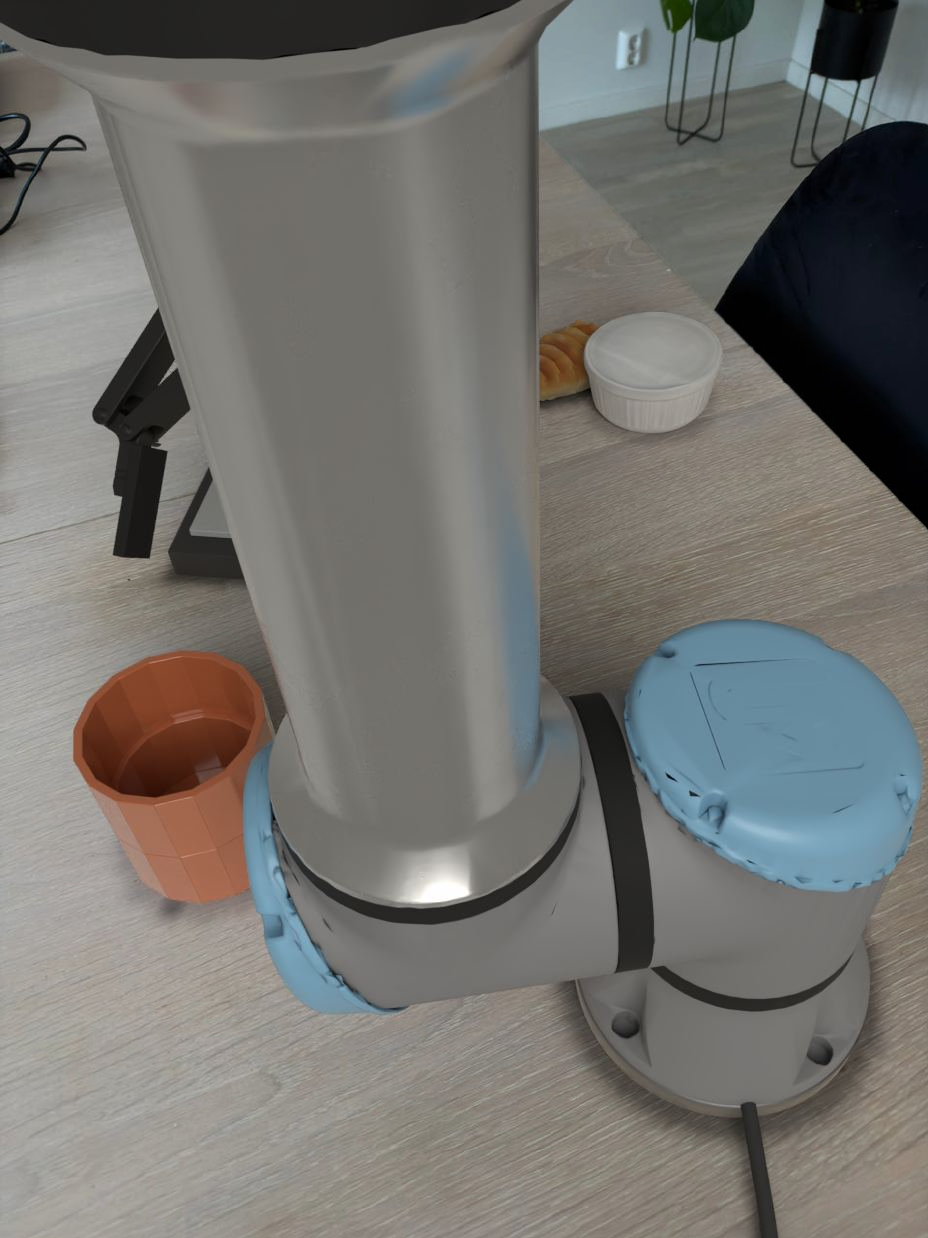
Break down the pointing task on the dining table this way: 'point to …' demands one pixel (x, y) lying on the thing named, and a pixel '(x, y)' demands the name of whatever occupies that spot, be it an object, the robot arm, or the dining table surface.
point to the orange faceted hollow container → (176, 768)
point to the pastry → (564, 361)
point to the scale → (205, 538)
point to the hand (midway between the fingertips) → (233, 580)
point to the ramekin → (652, 370)
